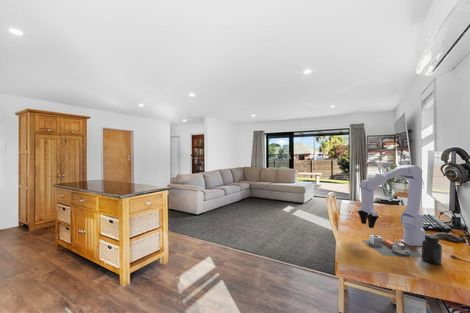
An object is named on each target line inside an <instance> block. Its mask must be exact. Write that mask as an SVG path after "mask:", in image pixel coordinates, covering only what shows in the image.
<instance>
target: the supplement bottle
mask: <svg viewBox="0 0 470 313" xmlns="http://www.w3.org/2000/svg"><path fill="white" fill-rule="evenodd" d="M442 253H443V245H442V244H441V243H440V237H439V236H437V235H434V234H426V235H425V240H424V241H422V246H421V255H422V257H421V261H423V262H424V263H426V264H429V265H434V266H441V265H442V262H443V259H442V258H443V254H442Z"/></svg>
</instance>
